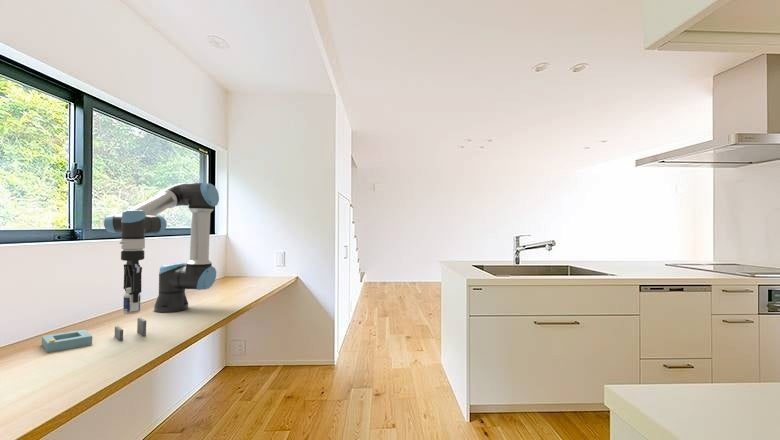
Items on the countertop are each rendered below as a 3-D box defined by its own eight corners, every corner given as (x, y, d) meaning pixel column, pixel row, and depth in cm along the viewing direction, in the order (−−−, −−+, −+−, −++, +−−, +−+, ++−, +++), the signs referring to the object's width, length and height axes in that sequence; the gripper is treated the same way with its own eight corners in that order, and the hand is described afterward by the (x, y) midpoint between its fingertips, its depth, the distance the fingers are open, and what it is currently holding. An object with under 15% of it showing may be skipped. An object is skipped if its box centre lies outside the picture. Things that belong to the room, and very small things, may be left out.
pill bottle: (128, 315, 142) (129, 289, 142) (120, 313, 144) (120, 288, 144) (143, 312, 147) (143, 287, 147) (134, 310, 149) (135, 286, 149)
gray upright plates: (139, 332, 150) (140, 317, 150) (145, 336, 146) (146, 320, 146) (114, 337, 144) (114, 321, 144) (119, 341, 139) (120, 324, 139)
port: (84, 337, 143) (84, 327, 143) (92, 344, 135) (92, 334, 135) (41, 344, 134) (42, 334, 134) (47, 352, 126) (47, 341, 126)
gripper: (114, 248, 148) (113, 307, 148) (128, 252, 136) (127, 315, 137) (136, 247, 154) (135, 304, 154) (152, 251, 142) (151, 311, 142)
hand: (131, 309), depth 145 cm, fingers closed on pill bottle, 5 cm apart
